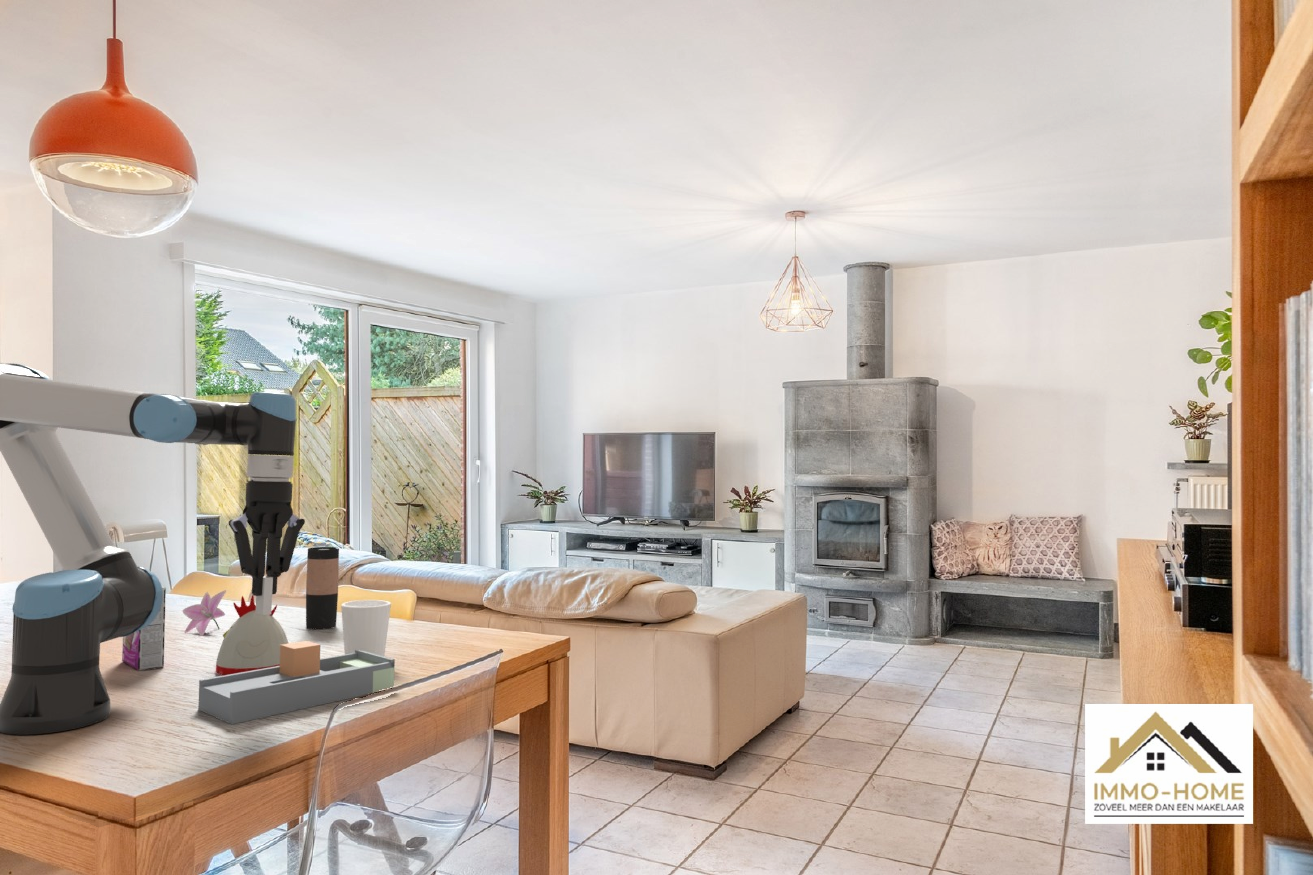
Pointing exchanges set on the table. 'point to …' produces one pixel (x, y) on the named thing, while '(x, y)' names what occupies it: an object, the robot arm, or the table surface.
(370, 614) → the cup
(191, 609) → the lily
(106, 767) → the table surface
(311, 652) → the block
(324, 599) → the travel mug
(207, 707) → the box
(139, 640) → the candy bar box
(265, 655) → the kitchen timer
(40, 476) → the robot arm
